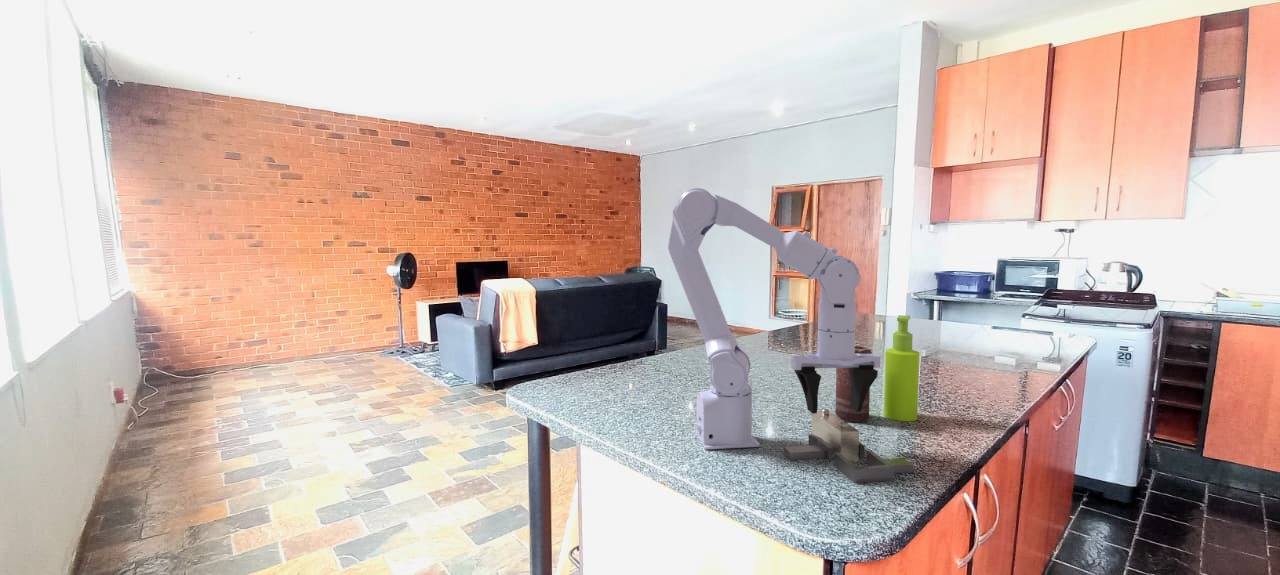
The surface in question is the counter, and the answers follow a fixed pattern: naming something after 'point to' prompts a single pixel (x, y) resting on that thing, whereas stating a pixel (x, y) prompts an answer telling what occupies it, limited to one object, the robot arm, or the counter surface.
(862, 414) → the can
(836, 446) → the studded metal block
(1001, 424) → the counter surface
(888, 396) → the soap dispenser
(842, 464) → the grey linked bars
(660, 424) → the counter surface
